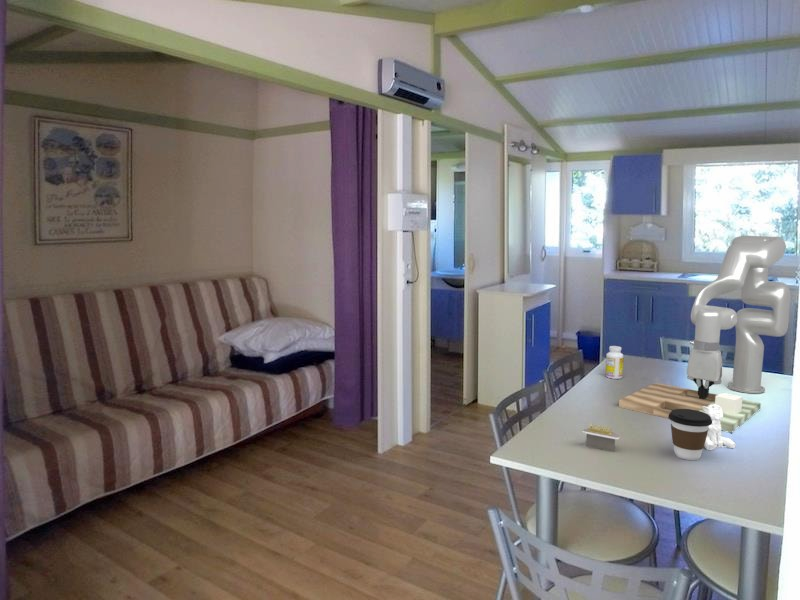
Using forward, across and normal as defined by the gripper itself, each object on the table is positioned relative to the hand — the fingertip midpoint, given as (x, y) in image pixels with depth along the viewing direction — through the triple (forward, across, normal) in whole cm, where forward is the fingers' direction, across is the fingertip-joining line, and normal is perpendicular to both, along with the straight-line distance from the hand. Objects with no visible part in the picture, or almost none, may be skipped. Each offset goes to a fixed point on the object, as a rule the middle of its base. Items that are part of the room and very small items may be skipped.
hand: (702, 398), depth 208 cm
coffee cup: (+4, +11, -46) cm, 47 cm away
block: (+2, +9, -2) cm, 9 cm away
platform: (+4, -9, -57) cm, 58 cm away
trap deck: (+4, -4, 0) cm, 6 cm away
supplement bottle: (+5, -41, +20) cm, 46 cm away
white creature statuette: (+4, +13, -32) cm, 34 cm away
